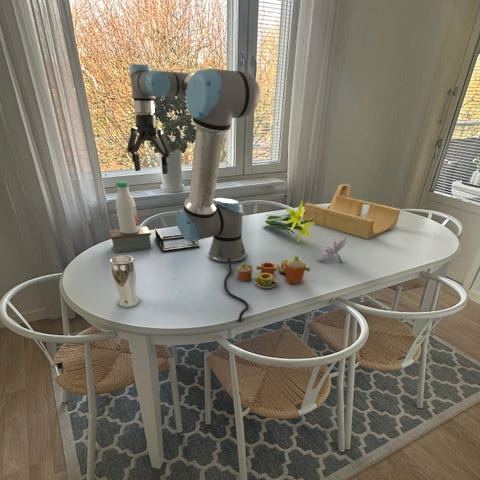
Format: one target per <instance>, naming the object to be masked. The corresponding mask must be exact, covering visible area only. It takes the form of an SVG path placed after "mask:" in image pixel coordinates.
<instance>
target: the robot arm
mask: <svg viewBox="0 0 480 480" xmlns="http://www.w3.org/2000/svg"><path fill="white" fill-rule="evenodd" d="M129 78H130V83H131V91H132V98H133V108H134V113H136V114H135V115H134V116H135V124H136V126H137V127H136V126H131V127H130V135H129V139H128V143H127V148H126V151H127V152H128V153H130V154H131V157H132V158H131V159H132V162H133V165H134V171H135V172H139V171H141V169H142V168H141V163H140V154H139V153H138V151H139V149H140V148H141V145H142V143H143V142H144V141H145V142H151V143H153V144H154V145H155V147H156V148H157V150H158V151H159V153H160V154H161V157H160V158H161V168H162V175H166V174H168V173H169V169H168V166H169V161H170V160H169V156H172V155H173V151H172V149H171V147H170V145H169V141H168V140H167V138H166V136H165V131H164V129H163V128H158V129H157V127H156V125H157V121H156V115H155V112H156V111H155V101H154V97H156V98H158V97H159V98H162V97H169V98H170V97H171V98H172V97H178V98H179V97H180V98H185V103H186V108H187V111H188V114H189V115H190V117H192V118H191V121H192V123H193V124H194V125H195V127H196V129H195V139H194V149H193V157H192V167H191V175H190V185H189V194H188V197H187V198H186V199H184V202H183V209H182V208H181V209H179V210H178V211H176V214H175V220H176V221H175V222H176V225H177V228H178V231H179V234H182V236H183V237H184V238H183V239H185V241H188V242H192V241H196V240H197V241H198V242H199V241H201V240H205V239H209V238H212V242H211V245H210V248H209V251H208V255H209V259H210V260H212V261H214V262H217V263H220V264H221V263H222V264H228V268H229V272H228V273H227V275H226V276H225V278H224V281H223V289H224V291H225V293H226V294H227V295H228V296H229V297H231V298H232V299H235V300H237V301H239V302H241V303H243V304H244V305H245V308H243V309H242V310H241V312H240V313H239V316H238V320H237V321H238V323H242V319H243V316H244V314H245V313H246V312H248V310H249V308H250V306H249V304H248V302H247V301H246V300H245V299H243V298H241V297H239V296H237V295H234V294H233V293H232V292H230V291H229V289H228V285H227V284H228V283H227V282H228V279H229V278H230V277H231V275H232V272H233V268H232V264H236V263H240V262H242V261H243V260H245V259H246V256H247V255H246V253H247V252H246V248H245V244H244V242H243V215H244V213H243V204H242V202H240V201H239V200H237V199H236V200H235V199H232V198H225V197H216V198H215V193H216V187H217V183H218V182H217V181H218V175H219V168H220V162H221V156H222V150H223V144H224V138H225V133H227V132H228V131H229V130H231V128H232V127H231V126H232V121H233V119H239V118H241V119H242V118H245V117H247V116H249V115H251V114H252V113H254V111H256V109H257V107H258V105H259V103H260V99H261V90H260V86H259V83H258V81H257V80H256V78H255V77H254V76H253V75H252V74H250V73H248V72H245V71H243V70H242V71H241V70H230V69H229V70H227V69H217V68H208V69H207V68H202V69H198V70H196V71H195V72H180V71H179V72H177V71H166V70H165V71H164V70H159V69H152V70H151V67H150V65H148V64H141V63H140V64H138V63H137V64H134V63H133V64H131V65H130V66H129ZM239 394H240V395H241V392H239Z"/></svg>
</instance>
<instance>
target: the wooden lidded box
mask: <svg viewBox="0 0 480 480" xmlns="http://www.w3.org/2000/svg"><path fill="white" fill-rule="evenodd" d="M108 232H109V235H110V238H111V243H112V246H113V249H114V252H115V254H117V253H126V252H134V251H140V250H148V249H150V250H151V249H152V244H151V235H152V233H151V231H150V229H149V228H148V226H139V231H138V232H137V233H133V234H123V233H121V231H120V228H119V229H118V228H117V229H109V230H108Z"/></svg>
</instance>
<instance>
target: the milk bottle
mask: <svg viewBox="0 0 480 480" xmlns="http://www.w3.org/2000/svg"><path fill="white" fill-rule="evenodd" d="M115 185H116V189H117V195H116V199H115V209H116V215H117V220H118V221H117V222H118V226H119V227H118V228H119V229H120V231H121V233H123V234H133V233H137V232H138V231H139V227H140V226H139V219H138V213H137V207H136V202H135V199H134V198H133V196H132V194H131V192H130V189H129V188H130V185H129V182H128V181H126V180H120V181H116V182H115Z"/></svg>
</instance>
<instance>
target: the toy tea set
mask: <svg viewBox="0 0 480 480" xmlns="http://www.w3.org/2000/svg"><path fill="white" fill-rule="evenodd" d="M253 270H254V267H253V266H251V265H249V264H246V262H241V264H240V265H237V267H236V271H237V277H238V278H237V279H238V280H239V281H241V282H249V281H250V280H251V279H252V275H253ZM256 270H257V271H260V273H259V274H258V276H254V278H253V280H254V282H256V285H257V286H258V287H259V288H261V289H272V288H274V287H275V286H276V285H277V284H279V280H277V279H275V278H274V274H275V272H277V271H279V272H280V273H282V274H285V280H286V282H287V283H289V284H292V285H298V284H301V283H302V282H303V279H304V276H305V273H306V272H310V271H311V267H309V266H307V264H306V262H304V261H303V260H302V259H300V258H299V256H297V255H295V256H294V258H290V259H284V260H281V261H280V264H275V263H274V262H268V261H267V262H262V263H261V264H260V265H257V266H256Z"/></svg>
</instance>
